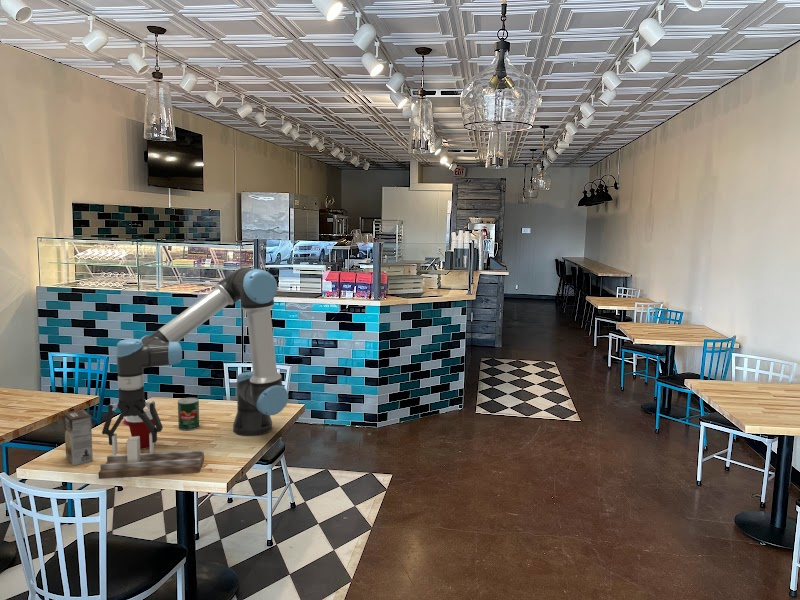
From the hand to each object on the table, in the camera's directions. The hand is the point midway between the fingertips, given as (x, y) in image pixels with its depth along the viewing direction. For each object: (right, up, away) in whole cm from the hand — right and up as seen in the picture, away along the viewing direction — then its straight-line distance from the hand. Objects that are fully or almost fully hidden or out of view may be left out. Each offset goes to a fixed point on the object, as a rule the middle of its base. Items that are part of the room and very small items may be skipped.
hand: (133, 453), depth 187 cm
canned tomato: (+3, -1, +41) cm, 41 cm away
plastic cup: (-6, -3, +20) cm, 21 cm away
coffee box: (-22, -4, +7) cm, 23 cm away
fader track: (+6, -5, +2) cm, 8 cm away
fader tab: (0, -3, 0) cm, 3 cm away
